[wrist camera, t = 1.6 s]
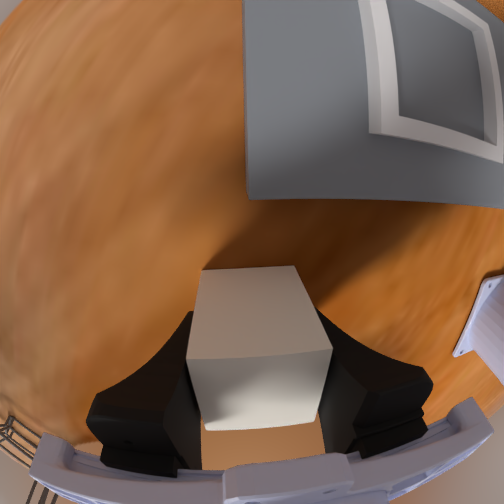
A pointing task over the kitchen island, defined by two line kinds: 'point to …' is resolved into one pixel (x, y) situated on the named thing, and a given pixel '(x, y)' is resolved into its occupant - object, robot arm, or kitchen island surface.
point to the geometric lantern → (6, 428)
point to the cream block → (256, 349)
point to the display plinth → (374, 100)
